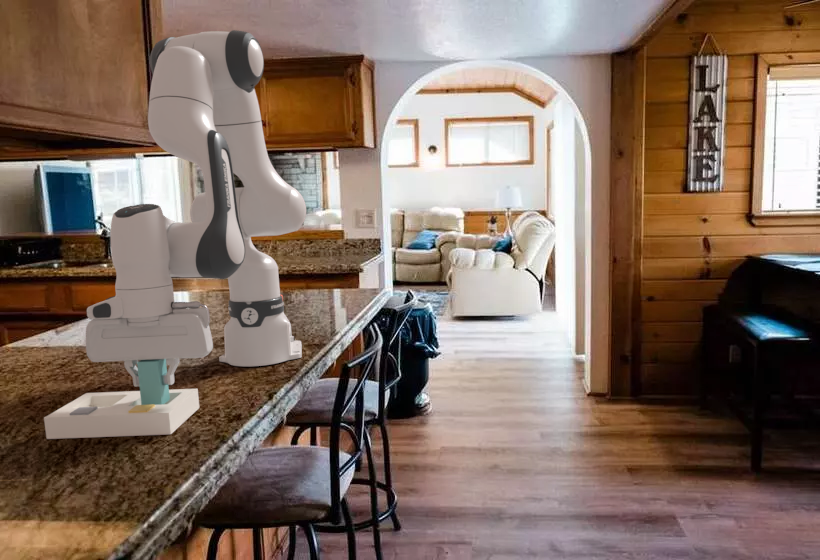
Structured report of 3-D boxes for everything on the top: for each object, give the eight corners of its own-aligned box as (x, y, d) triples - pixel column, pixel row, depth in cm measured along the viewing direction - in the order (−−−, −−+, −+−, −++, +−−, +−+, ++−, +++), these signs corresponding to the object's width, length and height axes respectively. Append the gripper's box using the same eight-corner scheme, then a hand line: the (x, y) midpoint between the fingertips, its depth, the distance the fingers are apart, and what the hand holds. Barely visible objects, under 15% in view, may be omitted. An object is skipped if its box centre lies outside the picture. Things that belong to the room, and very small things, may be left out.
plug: (150, 400, 113) (145, 357, 112) (169, 399, 113) (165, 356, 112) (141, 406, 110) (137, 362, 109) (161, 405, 110) (157, 361, 109)
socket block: (88, 412, 118) (86, 391, 117) (199, 407, 117) (197, 386, 117) (46, 439, 105) (43, 415, 105) (170, 434, 104) (168, 411, 104)
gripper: (214, 297, 112) (221, 377, 114) (95, 303, 113) (104, 382, 115) (201, 303, 106) (209, 387, 108) (76, 309, 107) (85, 392, 109)
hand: (154, 384), depth 111 cm, fingers closed on plug, 3 cm apart
